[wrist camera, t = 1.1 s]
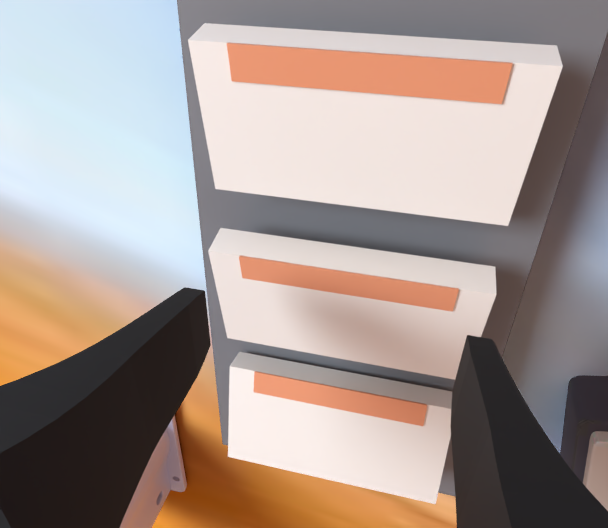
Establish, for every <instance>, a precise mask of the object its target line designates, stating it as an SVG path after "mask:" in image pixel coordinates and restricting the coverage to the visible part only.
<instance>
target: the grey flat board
mask: <svg viewBox="0 0 608 528" xmlns="http://www.w3.org/2000/svg"><path fill="white" fill-rule="evenodd" d="M177 5H178V15H179V24H180V34H181V44H182V54H183V63H184V73H185V83H186V92H187V102H188V112H189V122H190V131H191V141H192V151H193V160H194V170H195V180H196V190H197V199H198V209H199V219H200V228H201V238H202V248H203V258H204V267H205V277H206V287H207V296H208V306H209V316H210V326H211V335H212V345H213V355H214V364H215V374H216V384H217V394H218V403H219V413H220V423H221V432H222V442H223V444H224V445H228V426H229V374H230V365H231V363H232V362H233V360H234V359H235V357H236V356H237V354H238V353H239V352H244V353H249V354H255V355H260V356H265V357H271V358H276V359H281V360H287V361H292V362H297V363H303V364H308V365H313V366H319V367H324V368H329V369H335V370H340V371H345V372H351V373H356V374H361V375H367V376H372V377H377V378H383V379H388V380H393V381H399V382H404V383H409V384H415V385H420V386H425V387H431V388H436V389H441V390H447V391H452V390H453V386H454V382H455V380H454V379H449V378H443V377H438V376H432V375H427V374H421V373H416V372H410V371H405V370H399V369H394V368H388V367H383V366H378V365H372V364H367V363H361V362H356V361H350V360H345V359H339V358H334V357H328V356H323V355H317V354H312V353H306V352H301V351H296V350H290V349H285V348H279V347H274V346H268V345H263V344H257V343H252V342H246V341H241V340H235V339H230V338H227V334H226V330H225V325H224V320H223V316H222V311H221V307H220V302H219V298H218V293H217V289H216V284H215V280H214V275H213V271H212V266H211V262H210V257H209V253H208V250H209V248H210V247H211V245H212V243H213V241H214V239H215V237H216V235H217V234H218V232H219V230H220V228H226V229H233V230H240V231H247V232H254V233H261V234H268V235H275V236H282V237H289V238H296V239H303V240H311V241H318V242H325V243H332V244H339V245H346V246H353V247H360V248H367V249H374V250H381V251H388V252H395V253H403V254H410V255H417V256H424V257H431V258H438V259H445V260H452V261H459V262H466V263H473V264H480V265H487V266H495V270H496V297H495V300H494V303H493V305H492V308H491V311H490V313H489V316H488V319H487V322H486V324H485V327H484V330H483V332H482V335H481V337H483V338H488V339H492V340H493V341H494V343H495V344H496V346H497V349H498V351H499V353H500V355H501V357H502V355H503V352H504V349H505V346H506V343H507V340H508V337H509V334H510V331H511V328H512V325H513V321H514V318H515V315H516V312H517V309H518V306H519V303H520V300H521V297H522V294H523V291H524V288H525V285H526V282H527V279H528V275H529V272H530V269H531V266H532V263H533V260H534V257H535V254H536V251H537V248H538V245H539V242H540V239H541V236H542V232H543V229H544V226H545V223H546V220H547V217H548V214H549V211H550V208H551V205H552V202H553V199H554V196H555V193H556V189H557V186H558V183H559V180H560V177H561V174H562V171H563V168H564V165H565V162H566V159H567V156H568V153H569V150H570V147H571V143H572V140H573V137H574V134H575V131H576V128H577V125H578V122H579V119H580V116H581V113H582V110H583V107H584V104H585V100H586V97H587V94H588V91H589V88H590V85H591V82H592V79H593V76H594V73H595V70H596V67H597V64H598V61H599V57H600V54H601V51H602V48H603V45H604V42H605V39H606V36H607V33H608V0H177ZM204 23H211V24H226V25H242V26H258V27H274V28H289V29H305V30H321V31H337V32H352V33H368V34H384V35H400V36H415V37H431V38H447V39H463V40H478V41H494V42H510V43H526V44H541V45H557V47H558V51H559V55H560V58H561V62H562V65H563V67H562V70H561V73H560V76H559V79H558V82H557V85H556V88H555V91H554V93H553V96H552V99H551V102H550V105H549V108H548V111H547V114H546V117H545V120H544V123H543V126H542V128H541V131H540V134H539V137H538V140H537V143H536V146H535V149H534V152H533V155H532V158H531V161H530V163H529V166H528V169H527V172H526V175H525V178H524V181H523V184H522V187H521V190H520V193H519V195H518V198H517V201H516V204H515V207H514V210H513V213H512V216H511V219H510V222H509V225H508V226H504V225H496V224H488V223H480V222H472V221H464V220H456V219H449V218H441V217H433V216H425V215H417V214H409V213H401V212H393V211H385V210H378V209H370V208H362V207H354V206H346V205H338V204H330V203H322V202H314V201H307V200H299V199H291V198H283V197H275V196H267V195H259V194H251V193H243V192H236V191H228V190H220V189H215V184H214V179H213V173H212V168H211V163H210V157H209V152H208V146H207V141H206V135H205V130H204V125H203V119H202V114H201V108H200V103H199V98H198V92H197V87H196V81H195V76H194V71H193V65H192V60H191V54H190V49H189V44H188V39H189V38H190V37H191V36H192V35H193V34H194V33H195V32H196V31H197V30H198V29H199V28H200V27H201V26H202V25H203V24H204ZM438 492H439V493H443V494H447V495H452V496H455V483H454V469H453V456H452V441H451V437H450V441H449V446H448V450H447V455H446V459H445V464H444V468H443V473H442V477H441V482H440V486H439V491H438Z"/></svg>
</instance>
